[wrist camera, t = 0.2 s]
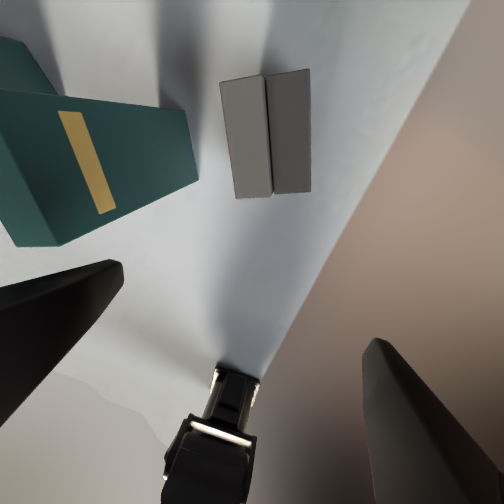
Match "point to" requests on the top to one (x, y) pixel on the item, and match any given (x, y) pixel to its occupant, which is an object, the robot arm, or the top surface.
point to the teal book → (84, 163)
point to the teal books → (21, 69)
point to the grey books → (269, 133)
